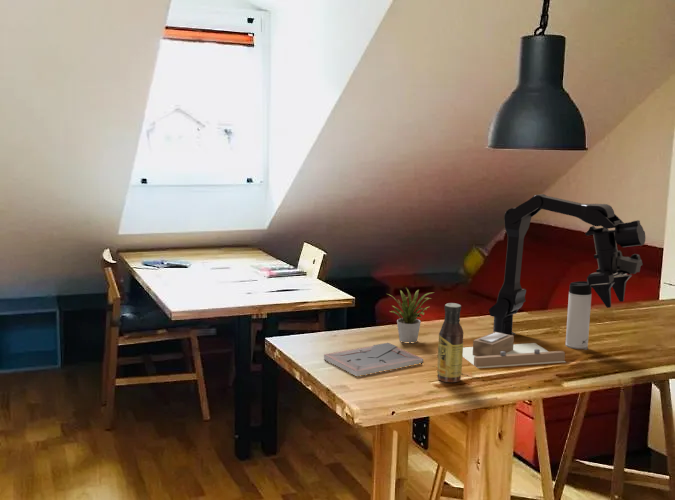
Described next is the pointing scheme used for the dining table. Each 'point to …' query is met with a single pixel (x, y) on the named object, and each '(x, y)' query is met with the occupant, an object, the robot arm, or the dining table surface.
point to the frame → (493, 344)
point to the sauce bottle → (450, 345)
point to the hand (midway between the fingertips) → (615, 304)
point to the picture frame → (372, 359)
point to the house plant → (409, 317)
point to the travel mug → (578, 315)
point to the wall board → (515, 356)
